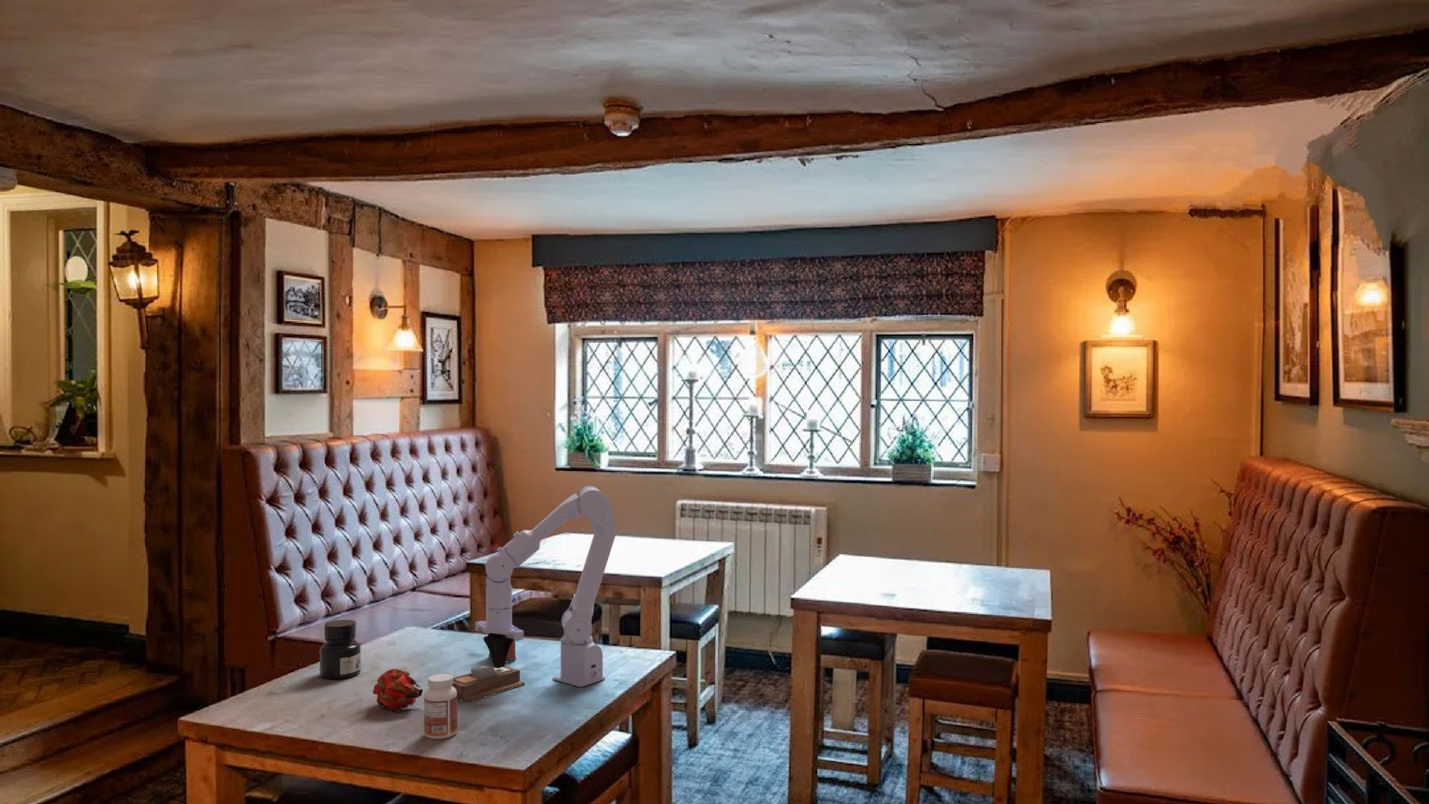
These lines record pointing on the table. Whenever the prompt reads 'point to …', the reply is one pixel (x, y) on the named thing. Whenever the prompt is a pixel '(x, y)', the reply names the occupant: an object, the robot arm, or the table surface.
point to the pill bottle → (440, 707)
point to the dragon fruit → (396, 690)
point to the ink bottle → (340, 651)
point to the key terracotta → (466, 680)
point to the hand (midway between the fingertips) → (499, 667)
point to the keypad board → (487, 685)
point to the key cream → (501, 670)
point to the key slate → (482, 672)
